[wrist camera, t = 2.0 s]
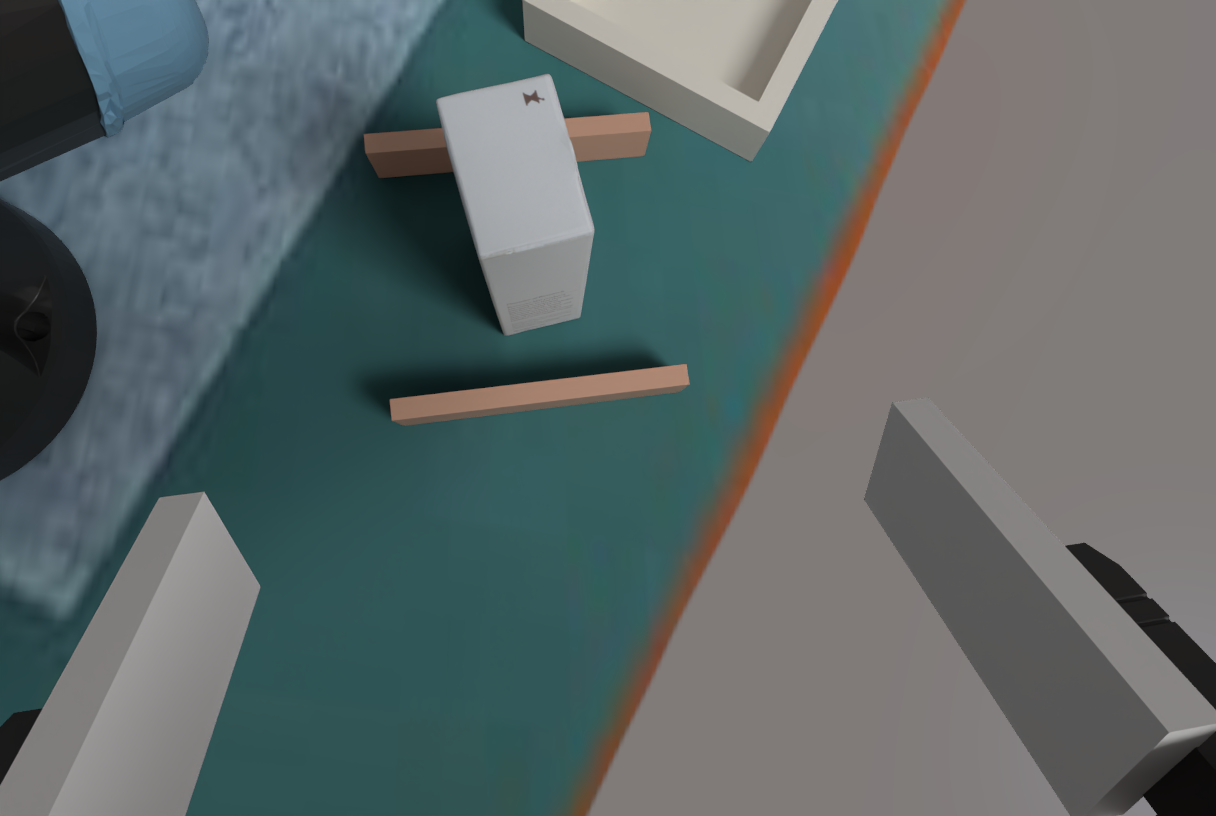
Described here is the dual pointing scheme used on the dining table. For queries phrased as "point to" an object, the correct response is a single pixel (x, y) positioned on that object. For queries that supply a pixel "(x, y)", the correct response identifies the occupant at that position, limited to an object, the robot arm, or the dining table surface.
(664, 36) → the cream tray
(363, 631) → the dining table surface
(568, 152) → the skincare box
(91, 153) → the dining table surface
